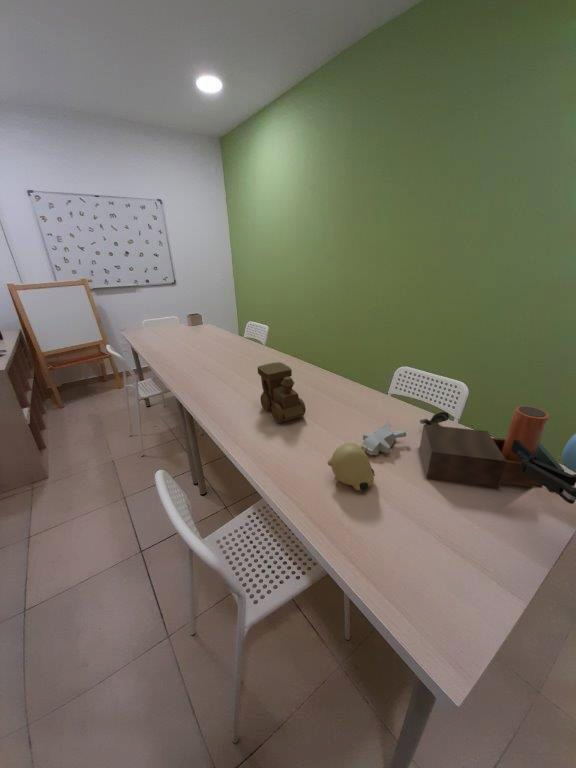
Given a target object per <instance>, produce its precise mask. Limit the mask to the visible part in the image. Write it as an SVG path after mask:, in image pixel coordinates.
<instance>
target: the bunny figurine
mask: <svg viewBox="0 0 576 768" xmlns="http://www.w3.org/2000/svg"><path fill="white" fill-rule="evenodd" d="M392 427H393V426H392V424H391V423H390V422H385V424H384V425H383V427H382V426H379V427H377V428H376V429H375V430H374V431H373V433H368V432H364V433H363V434H362V440H363V442H362V444H360V447H361V448H362V450H363V451H364V452H365V453H367V454H369V455H370V456H378V455H379V453H380V452H381V453H386V454H390V453H391V447H392V446H393V444H394V442H395V440H396V439H399V438H400V439H401V438H406V437H407V431H406V430H404V429H399V430H395V431H392V430H391V429H392Z"/></svg>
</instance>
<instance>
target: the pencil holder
mask: <svg viewBox="0 0 576 768" xmlns="http://www.w3.org/2000/svg"><path fill="white" fill-rule="evenodd" d="M549 419H550V414H549V413H548V412H547V411H545V410H543V409H541V408H538V407H535V406H529V405H517V406H516V407H515V408H514V411H513V414H512V417H511V420H510V424H509V427H508V429H507V433H506V436H505V438H504V439H505V442H504V445H503V449H502V452H501V453H502V454H503V456H504V458H505V459H506V460H509V461H517V462H521V461H520V460H519V459H518V458H517V457H516V456H517V455H516V454H515V453H514V452H513V451H512V450H511V447H512V444H513V441H514V440H519V441H520V442H521V443H522V444H523V445H524V446H525V447H526V448H527V449H528V450H530V451H531V452H532V453H533V454H534V455H535V454H536V451H537V449H538V446H539V443H541V440H542V437H543V435H544V433H545V430H546V428H547V425H548V422H549Z"/></svg>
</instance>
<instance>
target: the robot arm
mask: <svg viewBox="0 0 576 768" xmlns="http://www.w3.org/2000/svg"><path fill="white" fill-rule="evenodd" d="M511 450H512V451H513V452H514V453H515V454H516V455H517V456H516V457H517V458H518V459H519V460H520V461H521V464H520V467H519V470H518V471H519V472H521V473H522V474H524V475H526V476H527V477H529V478H531V479H533V480H534V481H536V482H538V483H539V484H541V485H543V486H542V487H544V488H545V489H547V488H548V489H550V490H551V491H553V492H555V493H554V494H556V495H558V496H559V497H560V498H561V499H563V500H564V501H565V502H566V503H568V504H571V505H574V503H575V501H576V432H575V433H574V434H573V435H572V436H571V437H570V438H569V439H568V441H567V442H566V444H565V445H564V448H563V450H562V452H561V461H562V464H563V465H564V467H565V468H566V469H568V470H570V471H572V472H574V473H573V474H571V473H568V472H566V471H562V470H559V469H557V468H554V467H552V466H550V465H547V464H545V463H542V462H540V461H537V457H536V456H535V455H534V454H533V453H532V452H531V451H530V450H528V449H527V448H526V447H525V446H524V445H523V444H522V443H521V442H520V441H519V440H514V441H513V444H512V447H511ZM535 465H536V466H535ZM548 489H547V490H548ZM553 492H552V493H553Z"/></svg>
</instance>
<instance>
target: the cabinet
mask: <svg viewBox="0 0 576 768" xmlns="http://www.w3.org/2000/svg"><path fill="white" fill-rule="evenodd" d="M492 438H493V436H491V434H490V433H489V431H488V430H479V429H471V428H462V427H452V426H442V425H441V426H439V425H437V426H434V425H426V424H423V427H422V432H421V438H420V443H419V453H420V458H421V462H422V466H423V470H424V475H425V478H426V479H427V480H433V481H434V480H435V481H438V482H439V481H440V482H448V483H455V484H460V485H467V486H473V487H481V488H482V487H483V488H489V489H495V490H498V489H499V486H500V484H501V482H500V480H501V477H502V474H503V471H504V468H505V465H506V462H507V461H506V459H505V458H504V456H503V454H502V453H501V451H500V450H499V448H498V447H497V445H496V444H495V442H494V440H493V439H492Z"/></svg>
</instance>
